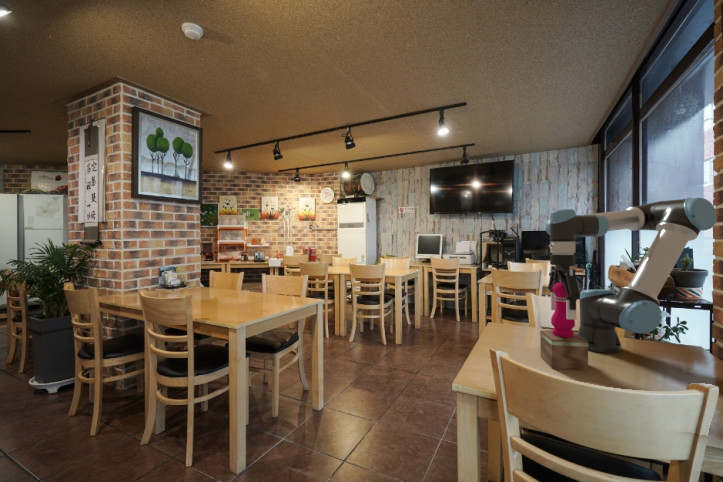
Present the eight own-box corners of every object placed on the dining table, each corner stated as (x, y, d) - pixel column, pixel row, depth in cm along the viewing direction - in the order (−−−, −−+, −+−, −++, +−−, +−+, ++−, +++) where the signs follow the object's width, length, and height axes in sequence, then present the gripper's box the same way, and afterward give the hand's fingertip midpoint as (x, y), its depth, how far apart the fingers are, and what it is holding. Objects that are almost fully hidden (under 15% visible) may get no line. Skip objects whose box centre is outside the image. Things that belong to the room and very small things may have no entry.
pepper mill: (578, 338, 112) (578, 279, 111) (555, 337, 113) (554, 279, 113) (570, 332, 119) (569, 276, 118) (548, 331, 120) (547, 276, 120)
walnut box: (573, 358, 121) (573, 331, 120) (588, 370, 110) (588, 340, 109) (540, 356, 123) (540, 330, 122) (551, 368, 112) (551, 339, 111)
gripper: (538, 252, 129) (538, 306, 129) (566, 256, 104) (566, 323, 104) (559, 252, 127) (559, 307, 127) (592, 255, 103) (592, 324, 103)
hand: (562, 314), depth 116 cm, fingers open, 13 cm apart
